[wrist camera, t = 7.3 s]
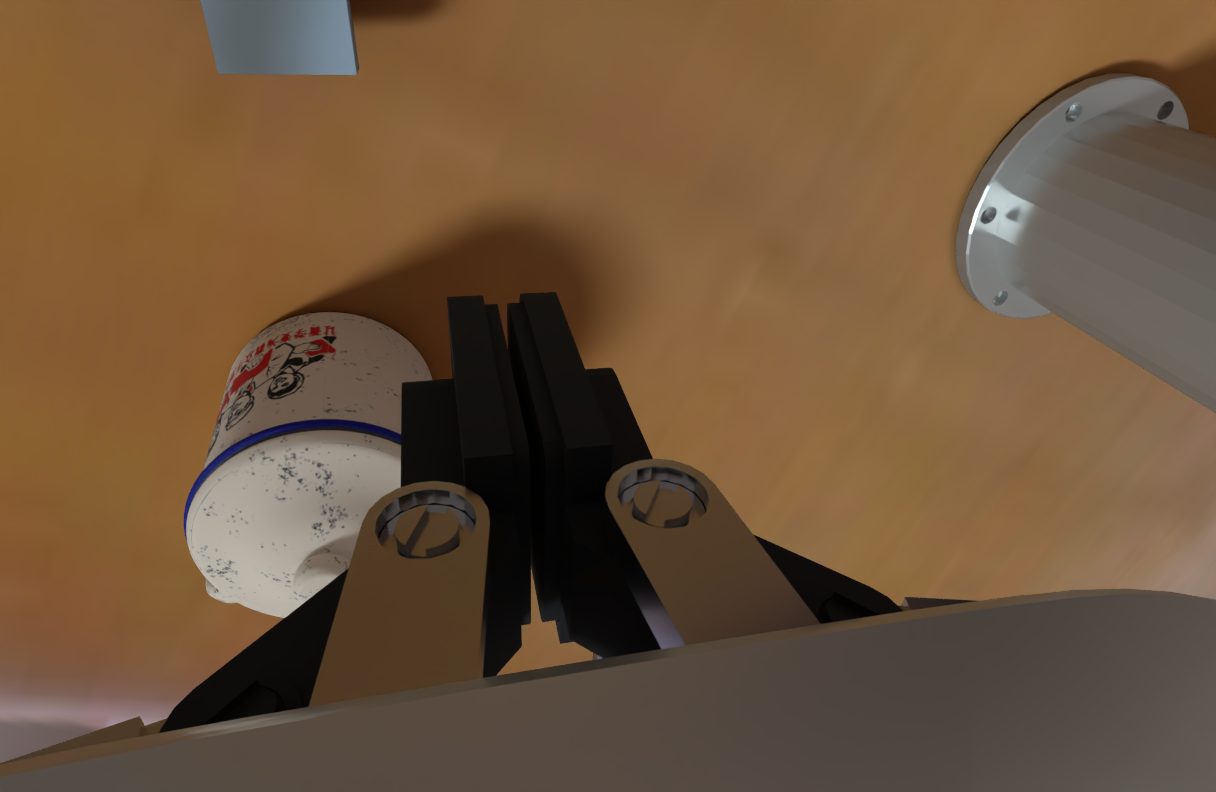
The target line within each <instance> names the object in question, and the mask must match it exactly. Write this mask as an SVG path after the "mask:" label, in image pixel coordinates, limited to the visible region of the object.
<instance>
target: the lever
mask: <svg viewBox="0 0 1216 792" xmlns="http://www.w3.org/2000/svg"><path fill="white" fill-rule="evenodd" d="M201 4H202V9H203V13H204V17H205V21H206V25H207V29H208V33H209V38H210V42H211V46H212V50H213V54H214V58H215V62H216V67H217V71H218V74H304V75H357V73H358V70H359V64H358V57H357V50H356V43H355V35H354V28H353V21H352V14H351V6H350V0H201Z"/></svg>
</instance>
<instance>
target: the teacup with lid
mask: <svg viewBox="0 0 1216 792" xmlns="http://www.w3.org/2000/svg"><path fill="white" fill-rule="evenodd" d="M428 380H432V377H431V374H430V371H429V369H428V366H427V364H426V363H425V361H424V359H423V357H422V356H421V355H420V353H419V352H418V351H417V349H416V348H415V347H414V346H413V345H412V344H411V343H410V342H409V341H408V340H407V339H406V338H404V337H403V336H402V335H400V334H399V333H398V332H396V331H394V330H393V329H391V328H390V327H388V326H386V325H384V324H382V323H379V322H377V321H375V320H372V319H369V318H366V317H363V316H358V315H354V314H348V313H339V312H318V313H309V314H304V315H299V316H296V317H292V318H289V319H286V320H284V321H281V322H279V323H277V324H275V325H273V326H271V327H269V328H267V329H265V330H264V331H262V332H261V333H259V334H258V335H257V336H256V337H254V338H253V339H252V340H251V341H250V342H249V343H248V344H247V345H246V346H245V347H244V348H243V350H242V351H241V352H240V354H239V355H238V357H237V358H236V360H235V362H234V364H233V366H232V368H231V371H230V374H229V377H228V381H227V384H226V388H225V392H224V396H223V399H222V403H221V407H220V411H219V414H218V418H217V422H216V425H215V429H214V433H213V437H212V440H211V444H210V448H209V452H208V455H207V459H206V463H205V467H204V470H203V471H202V473H201V474H200V475H199V477H198V478H197V480H196V481H195V483H194V485H193V487H192V489H191V491H190V493H189V496H188V499H187V502H186V506H185V512H184V530H185V536H186V539H187V543H188V546H189V550H190V553H191V555H192V557H193V560H194V562H195V563H196V565H197V566H198V568H199V570H200V571H201V572H202V574H203V575H204V576H205V577H206V589H207V592H208V594H209V595H210V596H211V597H213V598H215V599H218V600H220V601H223V602H226V603H236V602H238V603H240V604H242V605H243V606H246V607H248V608H251V609H253V610H256V611H259V612H262V613H265V614H269V615H273V616H278V617H283V618H285V617H287V616H288V615H289V614H290V613H292V612H293V611H294V610H296V609H297V608H298V607H299V606H301V605H302V604H303V603H304V602H306V601H307V600H308V599H310V598H311V597H312V596H313V595H315V594H316V593H317V592H319V591H320V590H321V589H322V588H324V587H325V586H326V585H327V584H329V583H330V582H331V581H333V580H334V579H335V578H336V577H338V576H339V575H340V574H341V573H343V572H344V571H345V570H347V569H348V568H349V566H350V562H351V559H352V555H353V552H354V548H355V545H356V542H357V538H358V535H359V531H360V528H361V524H362V522H363V520H364V518H365V516H366V514H367V512H368V510H369V509H370V508H371V507H372V506H373V505H374V504H375V503H376V502H377V501H378V500H379V499H380V498H381V497H383V496H385V495H387V494H388V493H390V492H392V491H394V490H395V489H397V488H401V394H402V382H414V381H428Z"/></svg>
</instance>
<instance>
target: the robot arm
mask: <svg viewBox="0 0 1216 792" xmlns="http://www.w3.org/2000/svg"><path fill="white" fill-rule="evenodd" d="M956 262H957V267H958V273H959V277H960V279H961V281H962V283H963V285H964V287H965V289H966V291H967V292H968V293H969V294H970V295H971V296H972V297H973V298H974V299H975V300H976V301H977V302H978V303H980V304H981V305H983V306H984V307H986V308H987V309H989V310H990V311H992V312H994V313H997V314H999V315H1002V316H1005V317H1011V318H1020V319H1024V318H1033V317H1040V316H1044V315H1047V314H1050V313H1054V314H1056V315H1057V316H1059V317H1060V318H1062V319H1064V320H1065V321H1067V322H1069V323H1070V324H1072V325H1073V326H1075V327H1077V328H1078V329H1080V330H1082V331H1083V332H1085V333H1086V334H1088V335H1090V336H1091V337H1093V338H1094V339H1096V340H1098V341H1099V342H1101V343H1103V344H1104V345H1106V346H1107V347H1109V348H1111V349H1112V350H1114V351H1116V352H1117V353H1119V354H1120V355H1122V356H1124V357H1125V358H1127V359H1129V360H1130V361H1132V362H1133V363H1135V364H1137V365H1138V366H1140V367H1141V368H1143V369H1145V370H1146V371H1148V372H1150V373H1151V374H1153V375H1154V376H1156V377H1158V378H1159V379H1161V380H1163V381H1164V382H1166V383H1167V384H1169V385H1171V386H1172V387H1174V388H1175V389H1177V390H1179V391H1180V392H1182V393H1184V394H1185V395H1187V396H1188V397H1190V398H1192V399H1193V400H1195V401H1197V402H1198V403H1200V404H1201V405H1203V406H1205V407H1206V408H1208V409H1209V410H1211V411H1213V412H1214V413H1216V137H1212V136H1209V135H1206V134H1202V133H1199V132H1196V131H1192V130H1189V124H1188V118H1187V113H1186V111H1185V109H1184V107H1183V104H1182V102H1181V100H1180V98H1179V97H1178V96H1177V95H1176V94H1175V93H1174V92H1173V91H1172V90H1171V89H1170V88H1169V87H1168V86H1167V85H1165V84H1163V83H1161V82H1158V81H1156V80H1154V79H1152V78H1147V77H1143V76H1139V75H1134V74H1130V73H1109V74H1105V75H1100V76H1096V77H1092V78H1088V79H1085V80H1083V81H1081V82H1079V83H1077V84H1074V85H1072V86H1070V87H1068V88H1065V89H1063V90H1062V91H1060V92H1059V93H1057V94H1056V95H1054V96H1053V97H1051V98H1050V99H1048V100H1047V101H1045V102H1043V103H1042V104H1040V105H1039V106H1038V107H1037V108H1036V109H1035V110H1034V111H1032V112H1031V113H1030V114H1029V115H1028V116H1027V117H1025V118H1024V119H1023V120H1022V121H1021V122H1020V123H1019V124H1018V125H1017V126H1016V127H1015V128H1014V129H1013V130H1012V131H1011V132H1010V134H1009V135H1008V136H1007V137H1006V138H1005V139H1004V140H1003V141H1002V142H1001V143H1000V145H999V146H998V147H997V149H996V150H995V152H994V153H993V154H992V156H991V157H990V159H989V160H988V161H987V163H986V164H985V166H984V167H983V169H982V171H981V172H980V174H979V176H978V178H977V180H976V182H975V184H974V185H973V187H972V189H971V191H970V193H969V196H968V199H967V201H966V204H965V207H964V209H963V212H962V215H961V219H960V223H959V228H958V233H957V237H956ZM447 305H448V319H449V333H450V347H451V361H452V375H453V379H442V380H428V381H414V382H402V394H401V488H397V489H395V490H394V491H392V492H390V493H388V494H387V495H385V496H383V497H381V498H380V499H379V500H378V501H377V502H376V503H375V504H374V505H373V506H372V507H371V508H370V509H369V510H368V512H367V514H366V516H365V518H364V520H363V522H362V524H361V528H360V531H359V535H358V538H357V542H356V545H355V548H354V552H353V555H352V559H351V562H350V566H349V568H348V569H347V570H345V571H344V572H343V573H341V574H340V575H339V576H338V577H336V578H335V579H334V580H333V581H331V582H330V583H329V584H327V585H326V586H325V587H324V588H322V589H321V590H320V591H319V592H317V593H316V594H315V595H313V596H312V597H311V598H310V599H308V600H307V601H306V602H304V603H303V604H302V605H301V606H299V607H298V608H297V609H296V610H294V611H293V612H292V613H290V614H289V615H288V616H287V617H285V618H284V619H283V620H282V621H280V622H279V623H278V624H276V625H275V626H274V627H273V628H271V629H270V630H269V631H267V632H266V633H265V634H264V635H262V636H261V637H260V638H259V639H257V640H256V641H255V642H253V643H252V644H251V645H250V646H248V647H247V648H246V649H245V650H243V651H242V652H241V653H239V654H238V655H237V656H236V657H234V658H233V659H232V660H230V661H229V662H228V663H227V664H225V665H224V666H223V667H222V668H220V669H219V670H218V671H216V672H215V673H214V674H213V675H211V676H210V677H209V678H208V679H206V680H205V681H204V682H202V683H201V684H200V685H199V686H197V687H196V688H195V689H194V690H192V691H191V692H190V693H189V694H188V695H187V696H186V697H185V698H184V699H183V700H182V701H181V702H180V703H179V704H178V705H177V706H176V707H175V708H174V709H173V711H172V712H171V714H170V715H169V717H168V718H167V719H164V720H161V721H158V722H155V723H152V724H149V725H146V726H144V724H143V722H142V720H141V718H140V716H139V717H136V718H133V719H130V720H127V721H124V722H121V723H118V724H115V725H112V726H109V727H106V728H103V729H100V730H97V731H94V732H91V733H89V734H86V735H83V736H80V737H77V738H74V739H71V740H68V741H65V742H62V743H59V744H56V745H53V746H50V747H47V748H44V749H41V750H38V751H35V752H32V753H29V754H26V755H23V756H20V757H17V758H15V759H11V760H9V761H5V762H2V763H0V792H1216V600H1214V599H1209V598H1203V597H1197V596H1192V595H1186V594H1180V593H1175V592H1166V591H1152V590H1137V589H1096V590H1069V591H1060V592H1052V593H1043V594H1032V595H1020V596H1011V597H1004V598H997V599H989V600H982V601H973V600H955V599H936V598H918V597H905V598H904V600H903V603H902V605H901V606H897V605H896V604H895V603H894V602H893V601H892V600H891V599H890V598H888V597H887V596H885V595H883V594H882V593H880V592H878V591H876V590H875V589H873V588H871V587H869V586H867V585H865V584H862V583H860V582H858V581H856V580H853V579H851V578H849V577H847V576H845V575H842V574H840V573H838V572H836V571H833V570H831V569H829V568H827V567H824V566H822V565H820V564H818V563H816V562H813V561H811V560H809V559H807V558H804V557H802V556H800V555H798V554H796V553H793V552H791V551H789V550H787V549H784V548H782V547H780V546H778V545H775V544H773V543H771V542H769V541H767V540H764V539H762V538H760V537H758V536H755V535H753V534H752V533H751V531H750V530H749V529H748V527H747V526H746V525H745V523H744V522H743V521H742V519H741V518H740V517H739V516H738V514H737V513H736V512H735V510H734V509H733V508H732V506H731V505H730V504H729V502H728V501H727V500H726V498H725V497H724V496H723V494H722V493H721V492H720V491H719V489H718V488H717V487H716V485H715V484H714V483H713V482H712V481H711V480H710V479H709V478H708V477H707V476H706V475H705V474H704V473H702V472H700V471H698V470H697V469H695V468H693V467H691V466H689V465H686V464H683V463H680V462H676V461H673V460H663V459H653V458H652V456H651V453H650V451H649V449H648V447H647V444H646V442H645V440H644V437H643V435H642V433H641V431H640V428H639V426H638V424H637V422H636V419H635V417H634V415H633V412H632V410H631V408H630V406H629V403H628V401H627V399H626V396H625V394H624V392H623V390H622V387H621V385H620V383H619V380H618V378H617V376H616V374H615V372H614V370H613V369H612V368H599V369H585V368H584V365H583V363H582V360H581V357H580V355H579V352H578V349H577V347H576V344H575V342H574V339H573V336H572V334H571V331H570V328H569V326H568V323H567V320H566V318H565V315H564V312H563V310H562V307H561V304H560V302H559V299H558V297H557V294H556V292H548V293H526V294H520V302H519V303H509V304H508V305H507V331H508V350H507V345H506V341H505V336H504V332H503V328H502V323H501V319H500V314H499V310H498V305H497V304H488V305H484V300H483V296H461V297H447ZM531 568H532V573H533V579H534V584H535V589H536V595H537V600H538V605H539V611H540V616H541V620H542V622H546V621H553V620H555V621H556V626H557V631H558V636H559V641H560V644H561V643H568V642H576V643H578V644H579V645H581V646H583V647H584V648H586V649H588V650H590V651H591V652H593V659H592V660H591V661H585V662H579V663H573V664H566V665H560V666H554V667H548V668H542V669H535V670H529V671H523V672H517V673H511V674H504V675H498V676H497V674H498V672H499V671H500V670H501V669H502V668H503V667H504V666H505V664H506V663H507V662H508V661H509V660H510V659H511V658H512V657H513V655H514V654H515V653H516V652H517V651H518V650H519V649H520V648H521V646H522V639H521V625H526V624H530V623H531Z"/></svg>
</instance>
